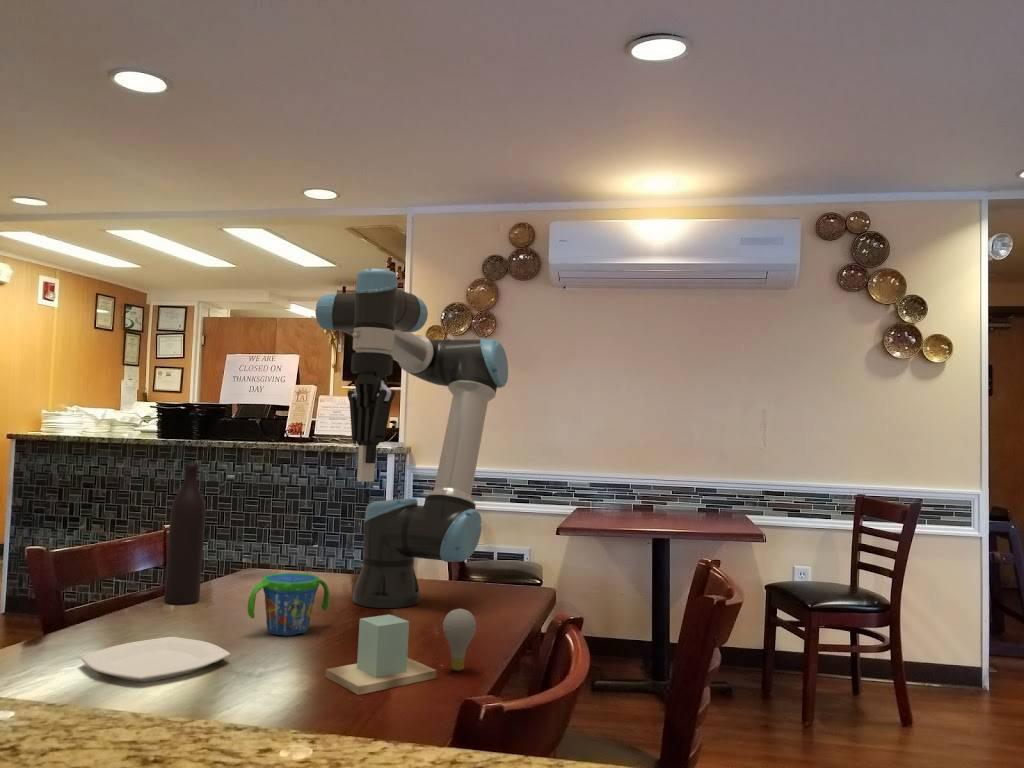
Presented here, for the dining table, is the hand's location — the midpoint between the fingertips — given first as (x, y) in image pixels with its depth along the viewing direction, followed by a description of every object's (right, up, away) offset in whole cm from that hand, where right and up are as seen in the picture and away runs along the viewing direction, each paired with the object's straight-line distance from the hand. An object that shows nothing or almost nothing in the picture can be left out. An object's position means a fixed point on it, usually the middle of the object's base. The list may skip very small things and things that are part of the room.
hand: (365, 481), depth 139 cm
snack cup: (-16, -29, +5) cm, 34 cm away
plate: (-30, -28, -18) cm, 44 cm away
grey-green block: (+6, -27, -20) cm, 34 cm away
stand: (+6, -28, -19) cm, 35 cm away
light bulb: (+18, -29, -15) cm, 37 cm away
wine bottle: (-45, -30, +26) cm, 60 cm away
